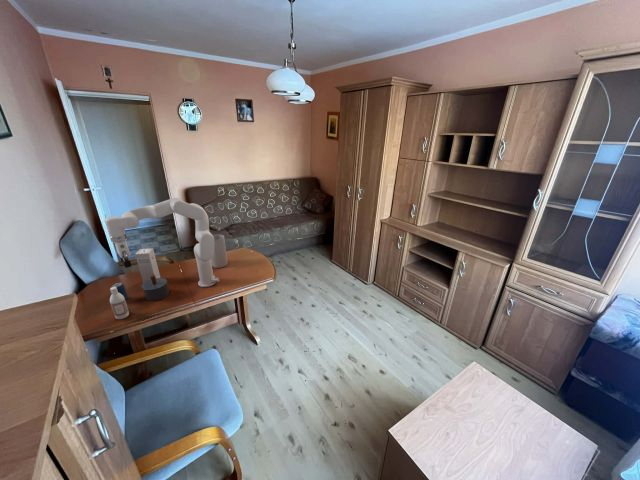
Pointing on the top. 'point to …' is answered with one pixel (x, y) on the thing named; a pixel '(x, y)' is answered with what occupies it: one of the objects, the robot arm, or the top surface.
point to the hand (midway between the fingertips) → (126, 264)
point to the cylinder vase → (219, 252)
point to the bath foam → (118, 304)
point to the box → (147, 264)
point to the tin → (156, 293)
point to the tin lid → (154, 283)
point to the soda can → (120, 289)
